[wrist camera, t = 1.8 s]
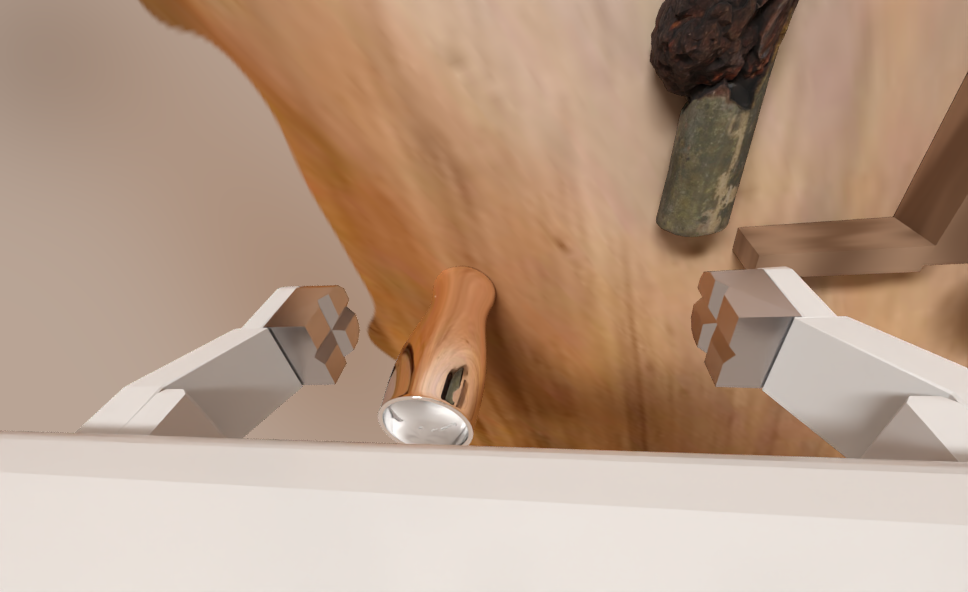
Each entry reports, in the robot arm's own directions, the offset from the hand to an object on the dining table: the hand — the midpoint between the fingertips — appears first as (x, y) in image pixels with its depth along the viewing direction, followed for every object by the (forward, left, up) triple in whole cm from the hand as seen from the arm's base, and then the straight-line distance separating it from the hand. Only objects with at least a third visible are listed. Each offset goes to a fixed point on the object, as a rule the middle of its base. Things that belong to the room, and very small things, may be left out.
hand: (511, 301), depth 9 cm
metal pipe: (-10, 0, -23) cm, 25 cm away
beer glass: (+8, +16, -22) cm, 29 cm away
